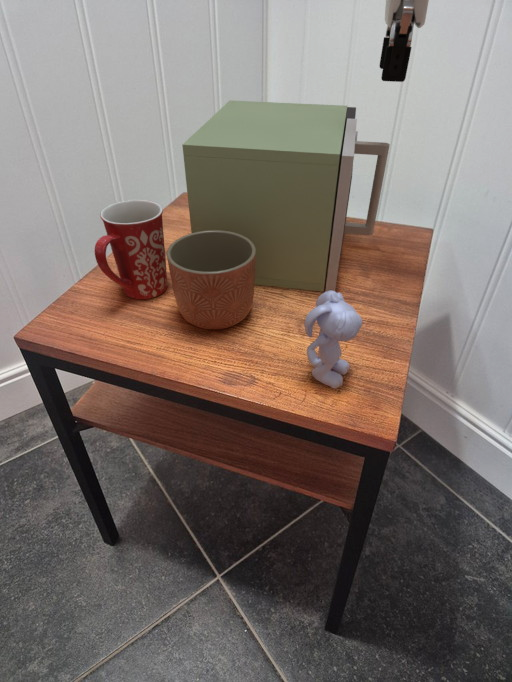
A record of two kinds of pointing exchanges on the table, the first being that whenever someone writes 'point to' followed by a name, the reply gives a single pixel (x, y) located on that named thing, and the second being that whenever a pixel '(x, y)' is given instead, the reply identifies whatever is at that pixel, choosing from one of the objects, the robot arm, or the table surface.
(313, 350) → the toy figurine
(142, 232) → the mug
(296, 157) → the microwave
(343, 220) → the microwave door
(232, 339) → the table surface
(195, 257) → the planter
